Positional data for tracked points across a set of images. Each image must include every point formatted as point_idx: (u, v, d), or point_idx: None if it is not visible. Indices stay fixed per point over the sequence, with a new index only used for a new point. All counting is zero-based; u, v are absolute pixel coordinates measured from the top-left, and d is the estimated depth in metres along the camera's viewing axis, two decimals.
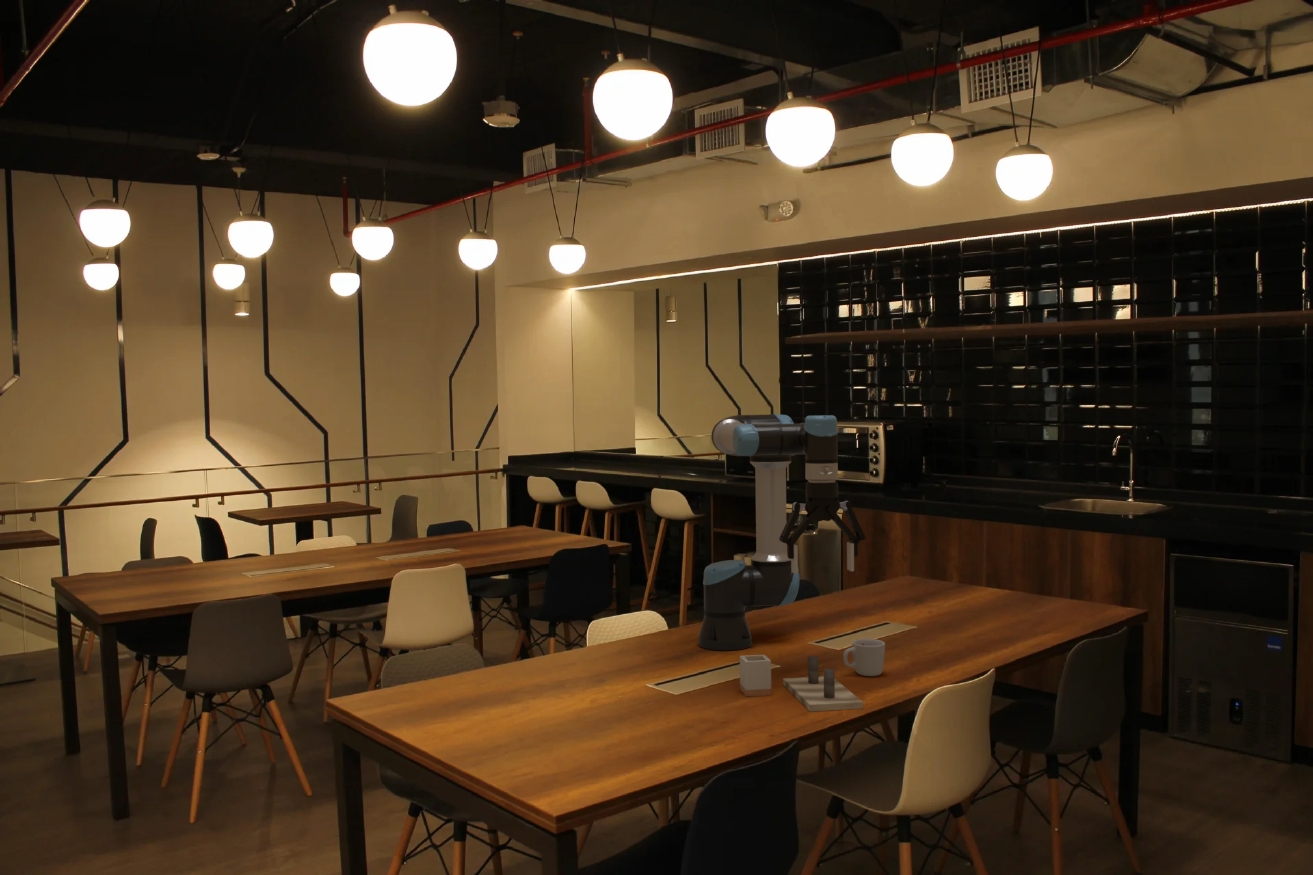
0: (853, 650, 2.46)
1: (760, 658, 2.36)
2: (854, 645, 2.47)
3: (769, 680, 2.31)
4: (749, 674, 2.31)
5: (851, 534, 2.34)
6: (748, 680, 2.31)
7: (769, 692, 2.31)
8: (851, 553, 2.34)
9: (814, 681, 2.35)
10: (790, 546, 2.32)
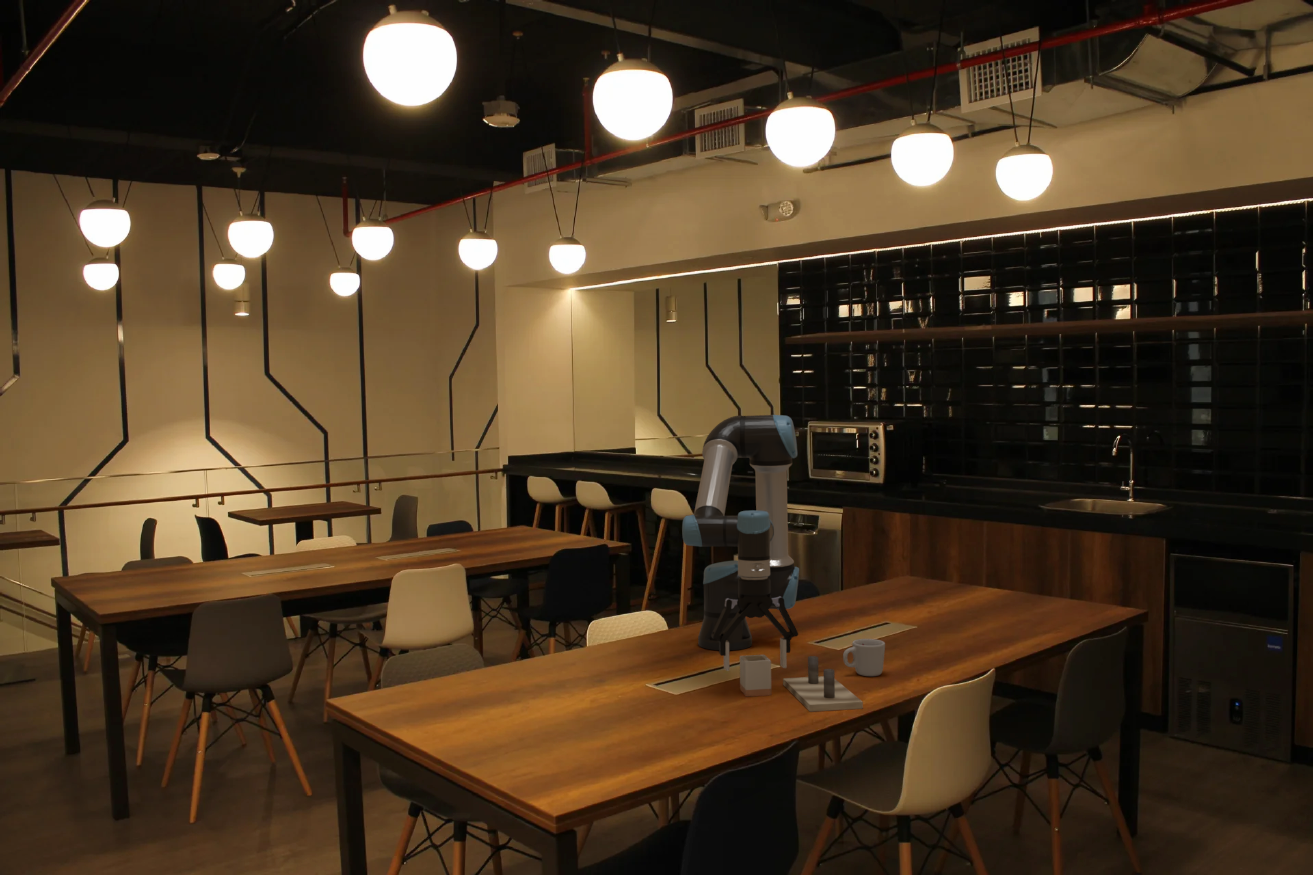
0: (853, 650, 2.46)
1: (760, 658, 2.36)
2: (854, 645, 2.47)
3: (769, 680, 2.31)
4: (749, 674, 2.31)
5: (783, 630, 2.33)
6: (748, 680, 2.31)
7: (769, 692, 2.31)
8: (783, 649, 2.33)
9: (814, 681, 2.35)
10: (722, 643, 2.31)
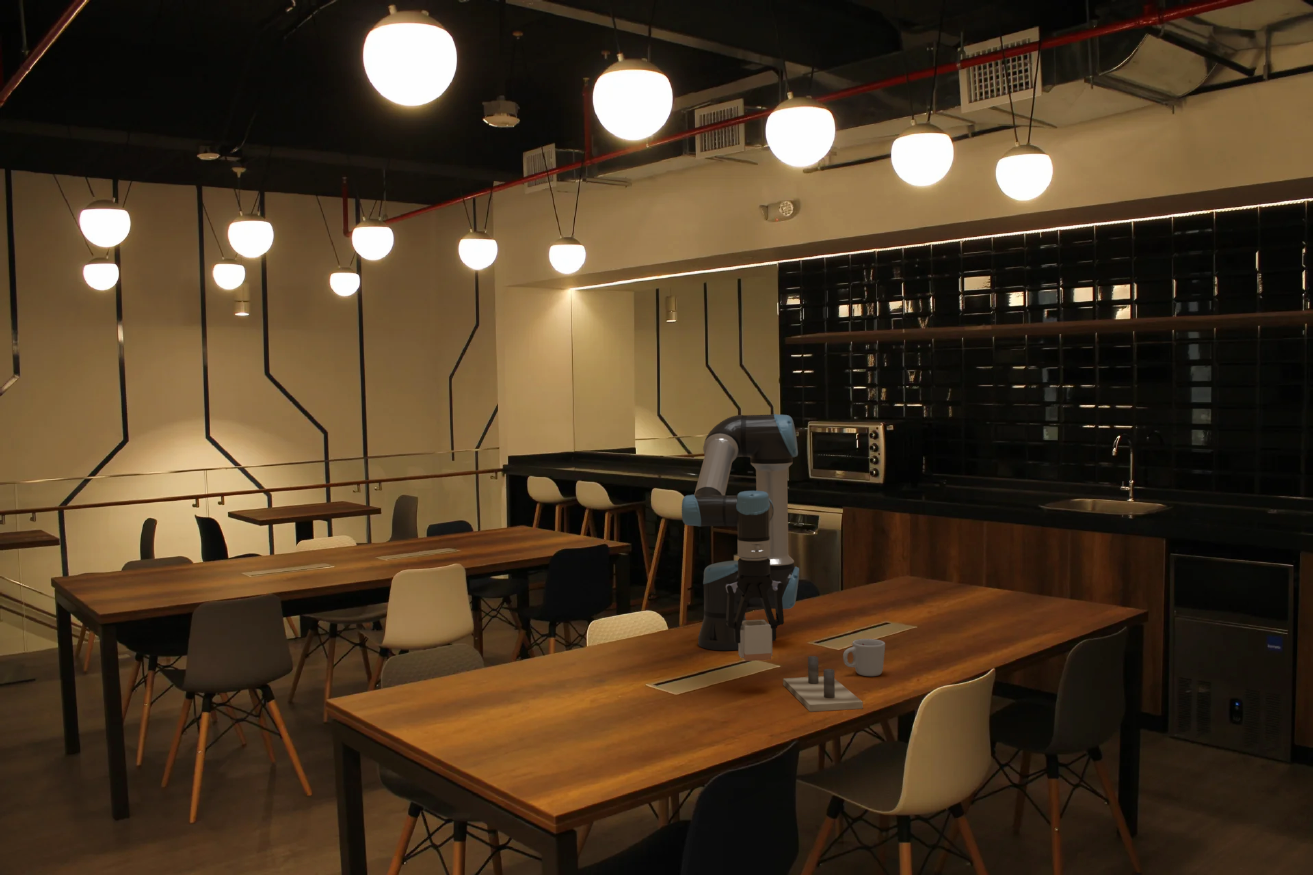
0: (853, 650, 2.46)
1: (760, 623, 2.36)
2: (854, 645, 2.47)
3: (769, 645, 2.31)
4: (749, 639, 2.31)
5: (772, 618, 2.33)
6: (748, 645, 2.31)
7: (769, 656, 2.32)
8: None
9: (814, 681, 2.35)
10: (736, 630, 2.33)
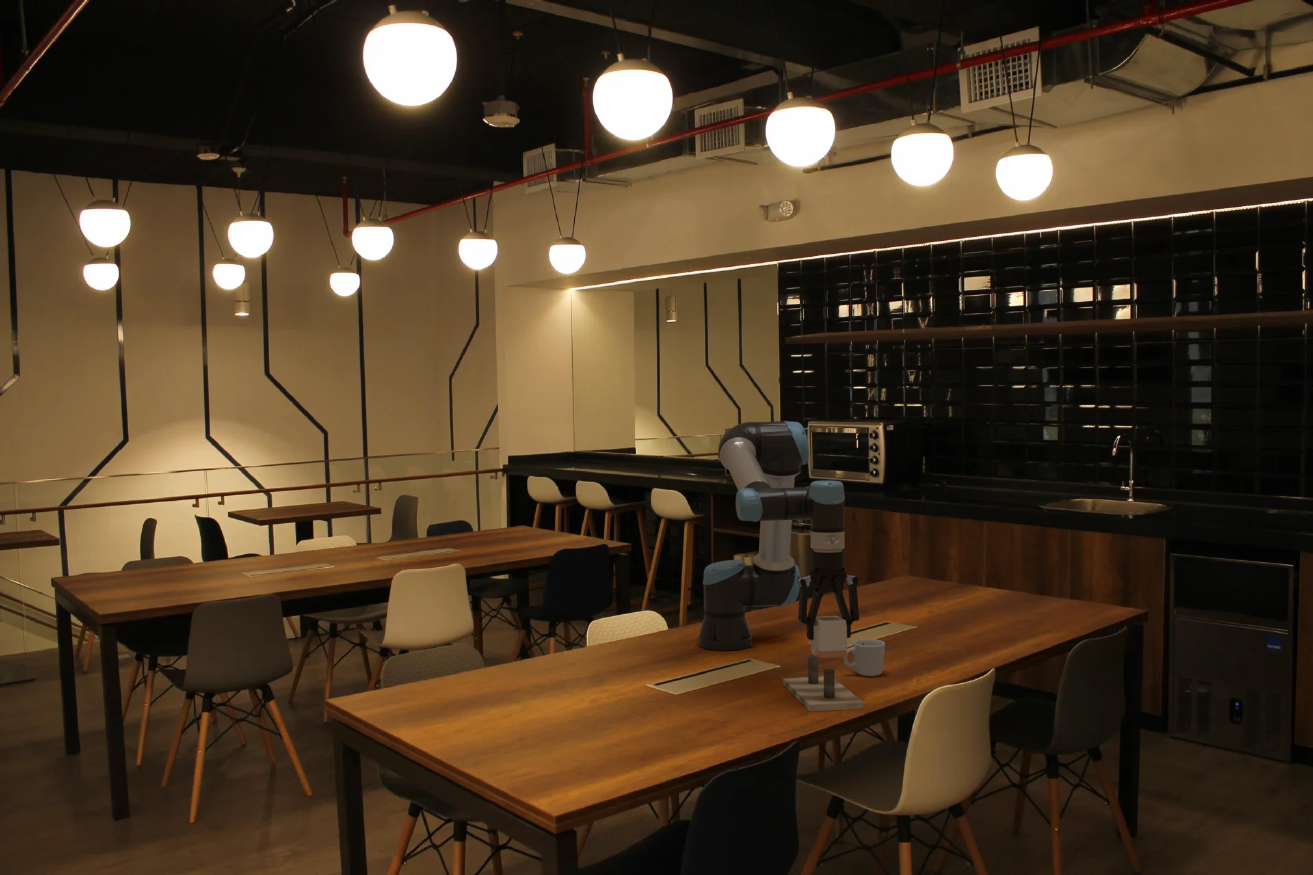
0: (853, 650, 2.46)
1: (833, 619, 2.26)
2: (854, 645, 2.47)
3: (844, 641, 2.21)
4: (823, 635, 2.20)
5: (847, 613, 2.23)
6: (823, 641, 2.20)
7: (844, 654, 2.21)
8: None
9: (814, 681, 2.35)
10: (810, 626, 2.22)
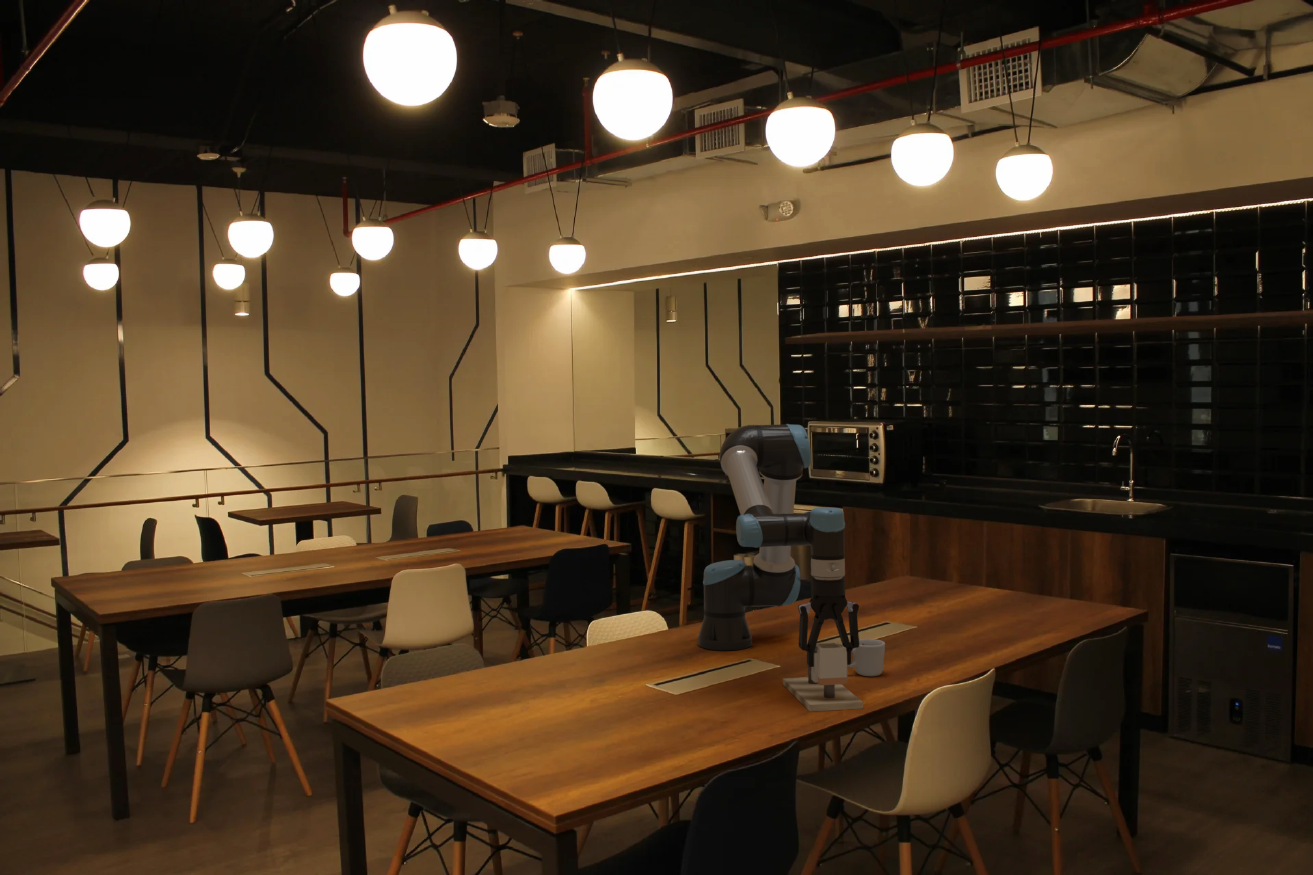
0: (853, 650, 2.46)
1: (833, 646, 2.26)
2: None
3: (844, 668, 2.21)
4: (824, 662, 2.20)
5: (847, 640, 2.23)
6: (823, 668, 2.20)
7: (844, 681, 2.21)
8: None
9: None
10: (810, 653, 2.22)
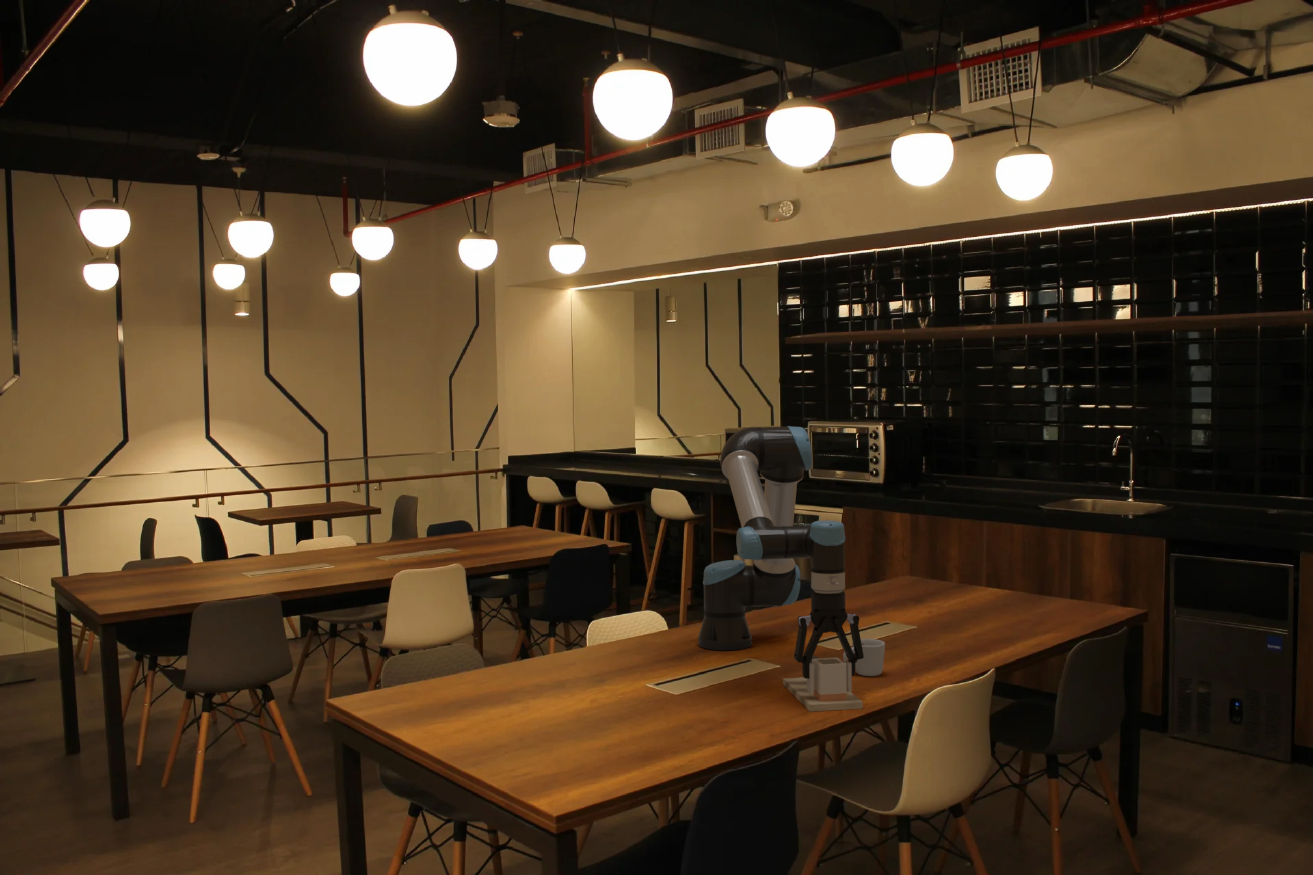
0: (853, 650, 2.46)
1: (833, 661, 2.26)
2: None
3: (844, 684, 2.21)
4: (824, 678, 2.21)
5: (850, 652, 2.23)
6: (823, 684, 2.21)
7: (844, 697, 2.21)
8: (848, 673, 2.23)
9: None
10: (806, 665, 2.22)
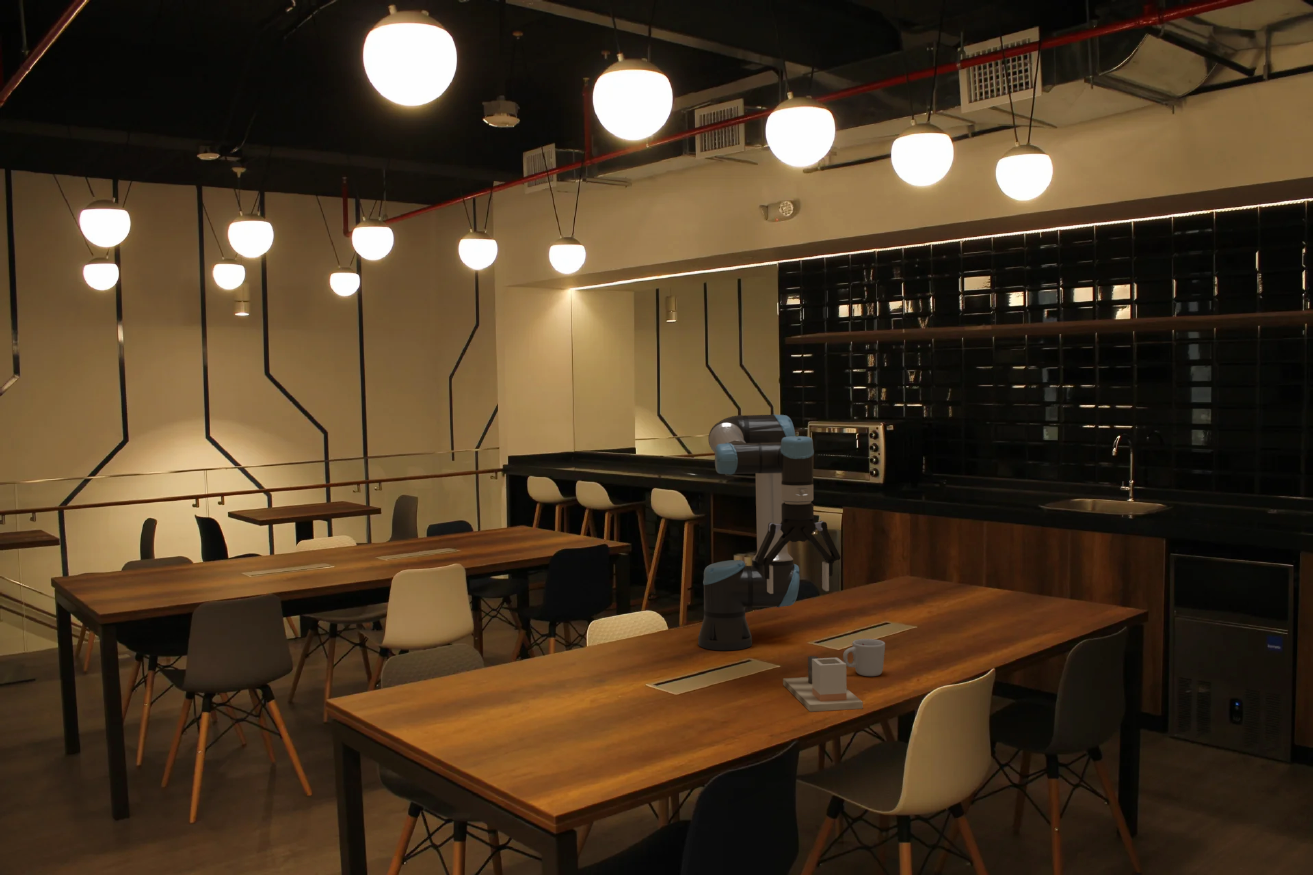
0: (853, 650, 2.46)
1: (833, 661, 2.26)
2: (854, 645, 2.47)
3: (844, 684, 2.21)
4: (824, 678, 2.21)
5: (826, 554, 2.36)
6: (823, 684, 2.21)
7: (844, 697, 2.21)
8: (826, 573, 2.36)
9: None
10: (766, 566, 2.34)
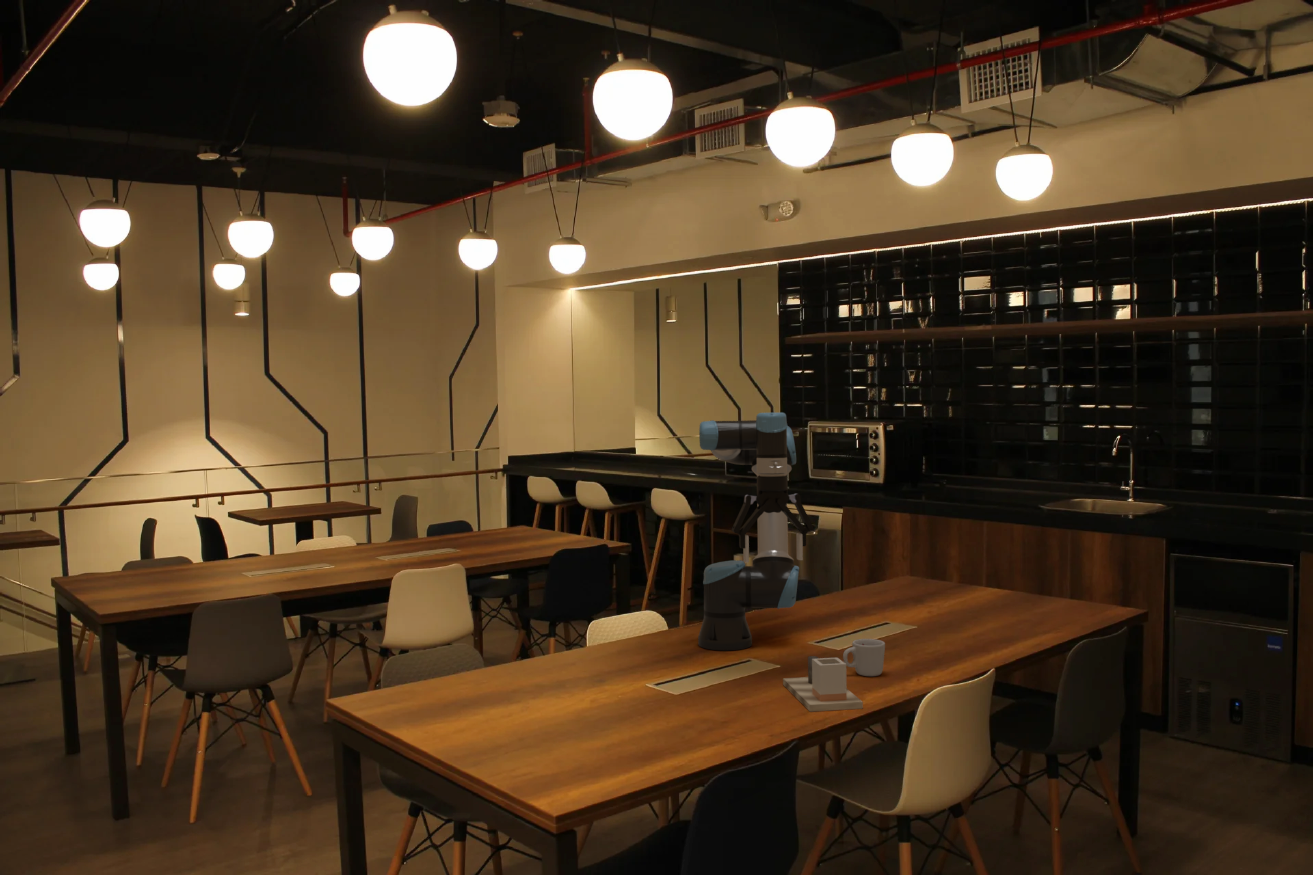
0: (853, 650, 2.46)
1: (833, 661, 2.26)
2: (854, 645, 2.47)
3: (844, 684, 2.21)
4: (824, 678, 2.21)
5: (800, 525, 2.47)
6: (823, 684, 2.21)
7: (844, 697, 2.21)
8: (800, 543, 2.47)
9: None
10: (742, 536, 2.45)
